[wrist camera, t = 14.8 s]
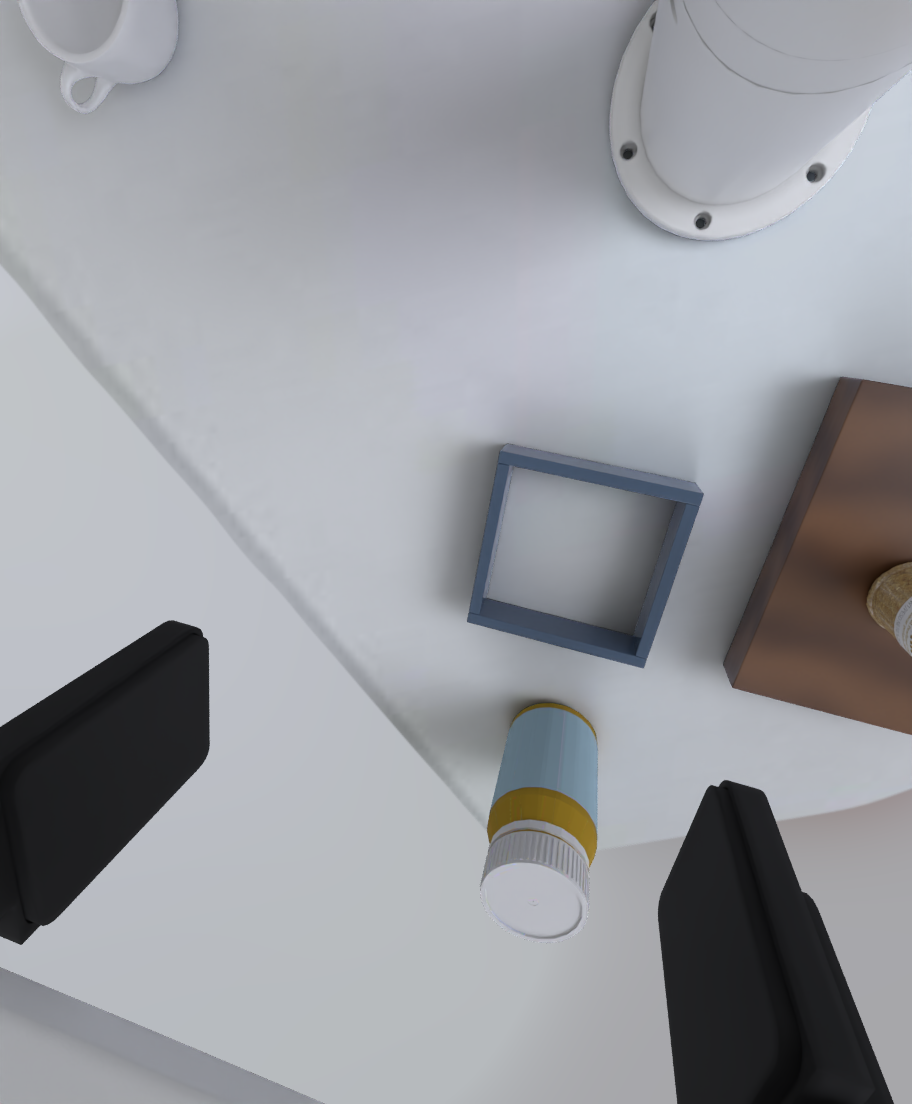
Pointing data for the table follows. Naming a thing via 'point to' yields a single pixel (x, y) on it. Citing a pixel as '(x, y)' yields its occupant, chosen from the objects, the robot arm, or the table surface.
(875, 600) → the sprinkles bottle
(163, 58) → the teacup
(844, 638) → the counter board
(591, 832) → the bottle
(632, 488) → the blue square frame
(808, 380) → the table surface
